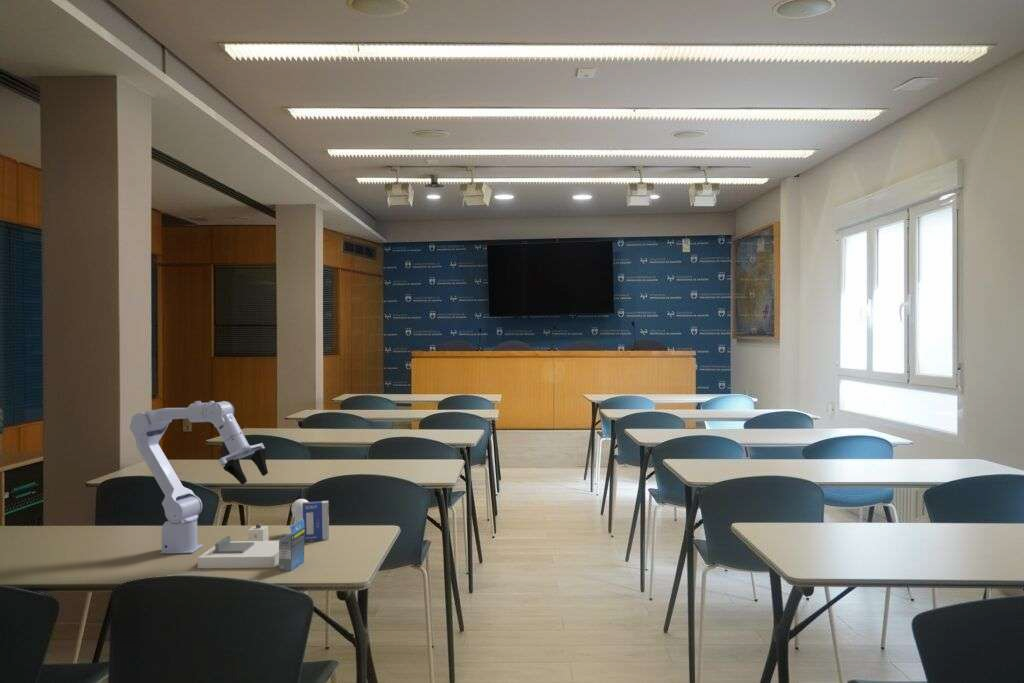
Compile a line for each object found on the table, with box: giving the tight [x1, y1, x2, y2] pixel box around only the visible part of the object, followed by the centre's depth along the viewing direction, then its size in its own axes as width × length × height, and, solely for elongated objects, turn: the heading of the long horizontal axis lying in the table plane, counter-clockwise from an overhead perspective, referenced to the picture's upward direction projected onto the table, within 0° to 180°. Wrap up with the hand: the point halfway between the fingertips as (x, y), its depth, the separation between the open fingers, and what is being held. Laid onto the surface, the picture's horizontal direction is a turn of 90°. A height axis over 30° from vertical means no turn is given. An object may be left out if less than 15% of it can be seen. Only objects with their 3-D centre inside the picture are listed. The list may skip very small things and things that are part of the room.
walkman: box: [303, 500, 330, 542], centre depth 232 cm, size 8×3×12 cm, turn 103°
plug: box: [247, 523, 269, 541], centre depth 227 cm, size 4×5×6 cm
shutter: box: [213, 535, 254, 553], centre depth 213 cm, size 8×8×3 cm
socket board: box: [197, 540, 279, 569], centre depth 213 cm, size 21×16×3 cm
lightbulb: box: [290, 498, 309, 529], centre depth 241 cm, size 6×6×11 cm
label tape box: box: [278, 519, 305, 572], centre depth 205 cm, size 9×4×12 cm, turn 172°
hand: (255, 478), depth 216 cm, fingers open, 7 cm apart
